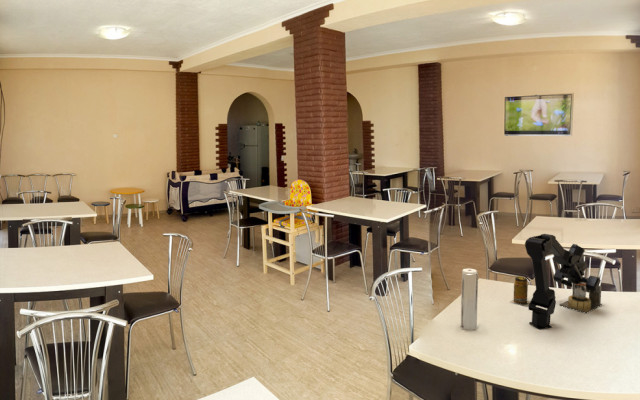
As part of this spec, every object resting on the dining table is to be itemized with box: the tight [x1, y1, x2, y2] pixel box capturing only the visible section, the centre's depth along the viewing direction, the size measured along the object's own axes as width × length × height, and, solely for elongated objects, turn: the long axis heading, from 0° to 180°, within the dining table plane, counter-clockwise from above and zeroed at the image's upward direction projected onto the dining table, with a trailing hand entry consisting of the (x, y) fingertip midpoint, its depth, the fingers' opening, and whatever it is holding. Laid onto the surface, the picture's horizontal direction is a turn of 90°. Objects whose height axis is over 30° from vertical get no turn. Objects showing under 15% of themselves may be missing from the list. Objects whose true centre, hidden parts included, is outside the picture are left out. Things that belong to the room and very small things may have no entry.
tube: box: [574, 282, 587, 301], centre depth 216 cm, size 5×5×12 cm
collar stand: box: [559, 283, 603, 314], centre depth 217 cm, size 15×12×10 cm
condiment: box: [509, 276, 531, 307], centre depth 222 cm, size 7×8×12 cm
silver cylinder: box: [460, 267, 479, 331], centre depth 196 cm, size 6×6×25 cm
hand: (581, 288), depth 216 cm, fingers open, 9 cm apart
